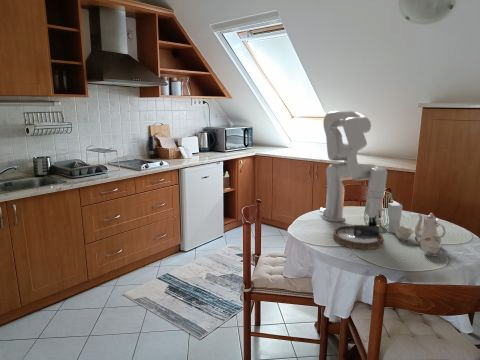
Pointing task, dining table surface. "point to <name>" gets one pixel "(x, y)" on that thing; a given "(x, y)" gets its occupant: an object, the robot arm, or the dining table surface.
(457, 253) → the dining table surface
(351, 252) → the dining table surface
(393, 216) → the skincare box
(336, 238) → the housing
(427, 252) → the chinaware
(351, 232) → the dial
